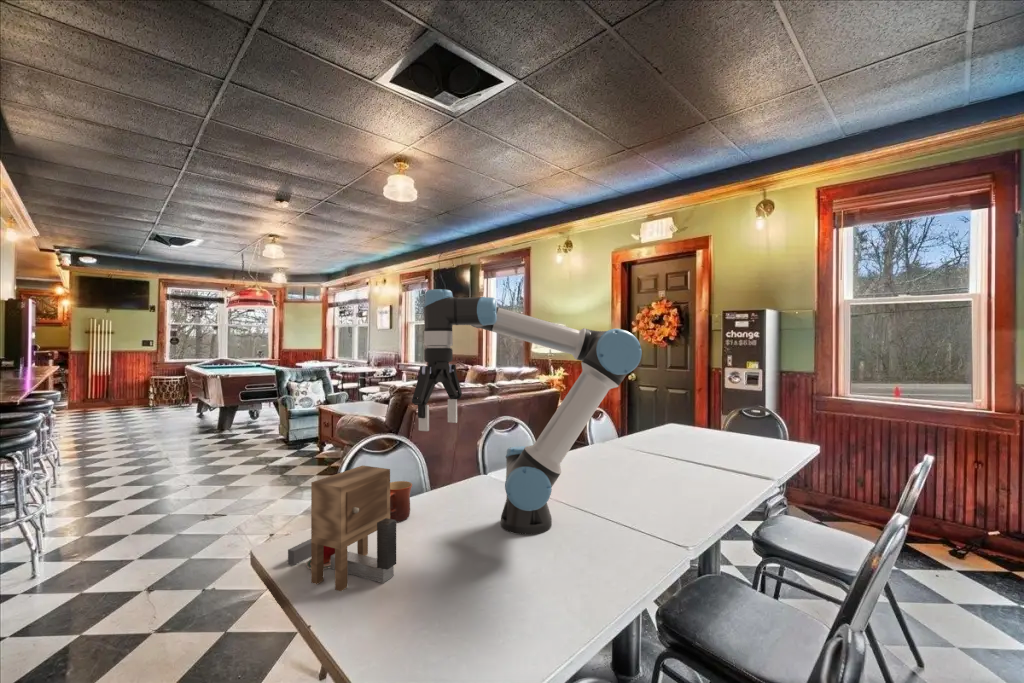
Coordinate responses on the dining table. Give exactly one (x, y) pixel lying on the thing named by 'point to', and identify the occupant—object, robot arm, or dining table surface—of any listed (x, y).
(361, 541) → the cabinet
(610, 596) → the dining table surface
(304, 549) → the block
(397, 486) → the mug
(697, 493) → the dining table surface
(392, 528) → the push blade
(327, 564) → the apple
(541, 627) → the dining table surface
